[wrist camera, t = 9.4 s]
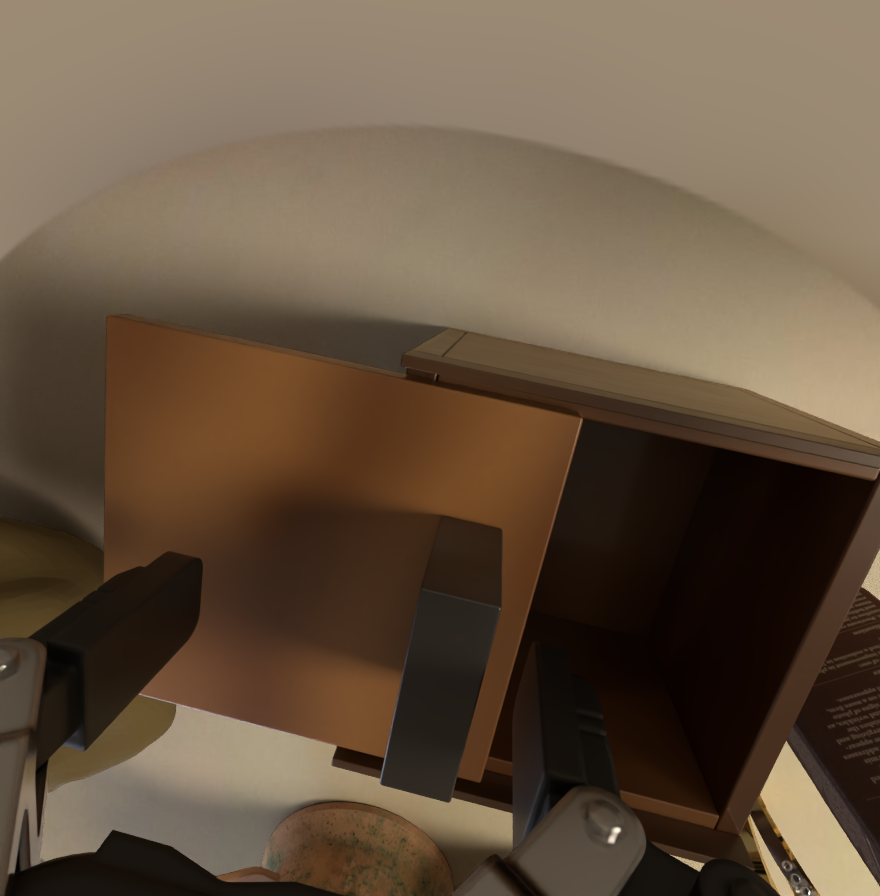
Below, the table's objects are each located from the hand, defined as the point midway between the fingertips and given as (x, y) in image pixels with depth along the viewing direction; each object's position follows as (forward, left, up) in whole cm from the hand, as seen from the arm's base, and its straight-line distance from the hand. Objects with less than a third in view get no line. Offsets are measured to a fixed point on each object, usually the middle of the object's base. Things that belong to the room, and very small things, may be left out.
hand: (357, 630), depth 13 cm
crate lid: (+2, 0, -3) cm, 3 cm away
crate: (-6, 0, -12) cm, 14 cm away
